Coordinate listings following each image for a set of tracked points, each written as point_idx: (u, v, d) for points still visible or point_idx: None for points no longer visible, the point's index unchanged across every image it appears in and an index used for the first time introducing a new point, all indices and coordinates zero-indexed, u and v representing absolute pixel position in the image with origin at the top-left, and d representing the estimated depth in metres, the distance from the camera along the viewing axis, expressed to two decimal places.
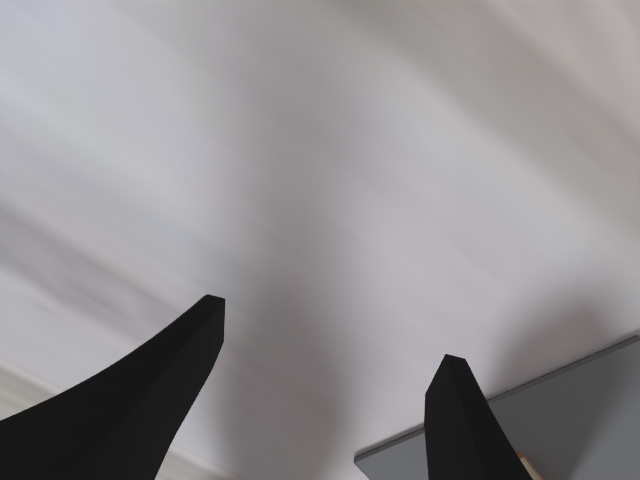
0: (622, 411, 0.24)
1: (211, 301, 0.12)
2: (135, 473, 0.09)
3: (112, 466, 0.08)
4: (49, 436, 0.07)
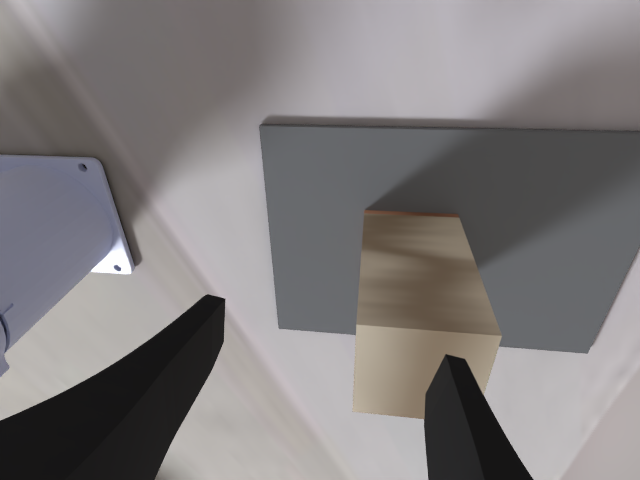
0: (590, 216, 0.20)
1: (211, 301, 0.12)
2: (135, 473, 0.09)
3: (112, 466, 0.08)
4: (49, 436, 0.07)
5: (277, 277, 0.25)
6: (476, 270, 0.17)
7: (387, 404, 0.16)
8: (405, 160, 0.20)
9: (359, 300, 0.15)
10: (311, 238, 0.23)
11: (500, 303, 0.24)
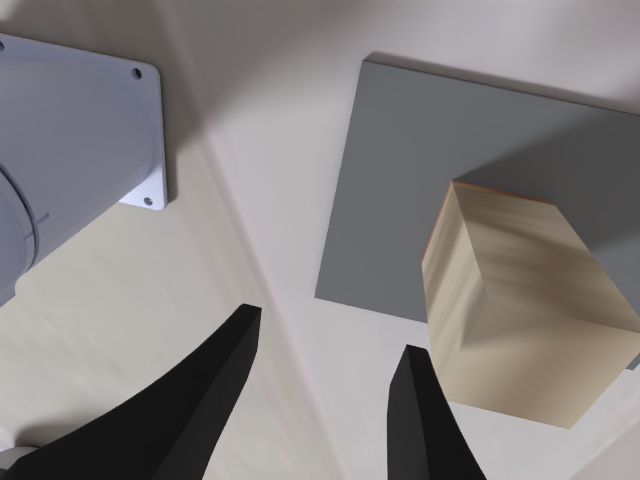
0: None
1: (249, 311, 0.12)
2: None
3: None
4: (111, 454, 0.07)
5: (330, 240, 0.23)
6: (596, 262, 0.15)
7: (480, 395, 0.14)
8: (515, 130, 0.18)
9: (482, 273, 0.13)
10: (381, 203, 0.21)
11: None
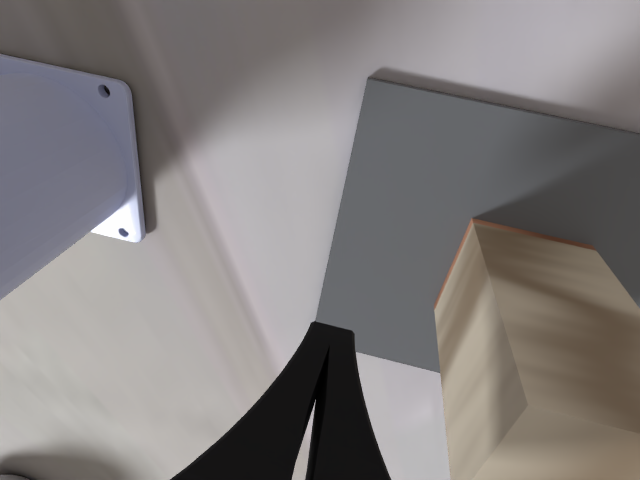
0: None
1: (323, 329, 0.12)
2: None
3: None
4: None
5: (329, 280, 0.20)
6: None
7: None
8: (551, 163, 0.15)
9: (517, 360, 0.10)
10: (389, 241, 0.18)
11: None
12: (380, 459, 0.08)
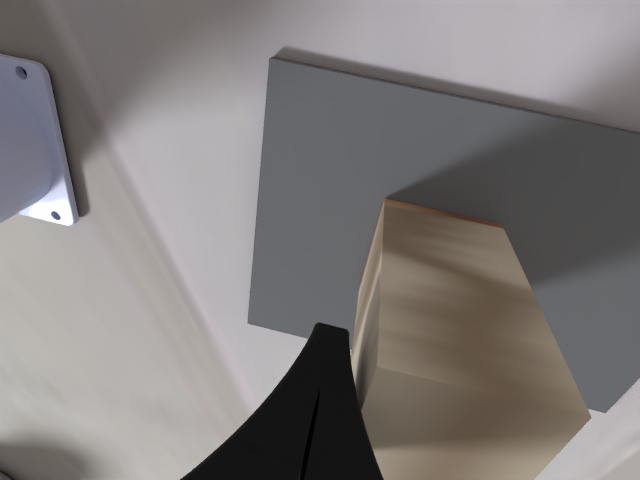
0: None
1: (327, 331, 0.12)
2: None
3: None
4: None
5: (257, 262, 0.20)
6: (537, 305, 0.12)
7: (390, 472, 0.12)
8: (453, 141, 0.15)
9: (381, 326, 0.10)
10: (309, 221, 0.18)
11: None
12: (372, 457, 0.08)
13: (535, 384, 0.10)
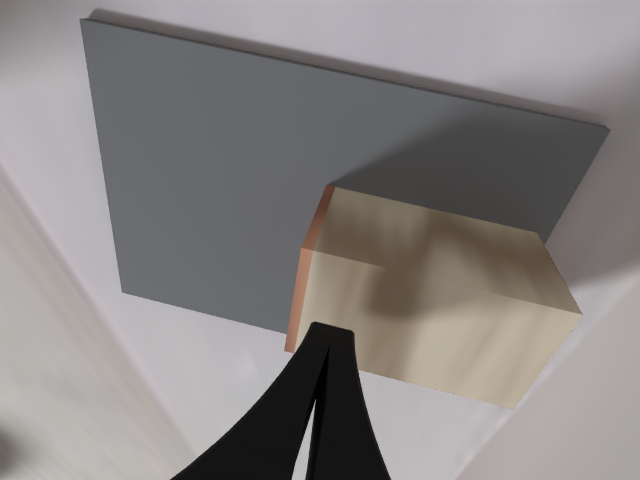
0: (480, 214, 0.16)
1: (323, 329, 0.12)
2: None
3: None
4: None
5: (116, 229, 0.20)
6: (445, 212, 0.17)
7: None
8: (263, 100, 0.16)
9: (539, 303, 0.12)
10: (153, 186, 0.19)
11: None
12: (380, 459, 0.08)
13: (529, 243, 0.15)
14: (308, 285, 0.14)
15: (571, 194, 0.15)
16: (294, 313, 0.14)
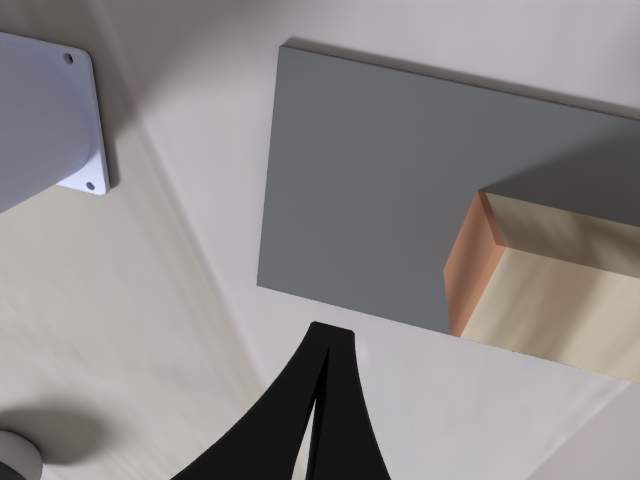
0: (617, 217, 0.19)
1: (323, 329, 0.12)
2: None
3: None
4: None
5: (266, 228, 0.23)
6: (585, 215, 0.19)
7: None
8: (434, 117, 0.18)
9: None
10: (311, 189, 0.21)
11: None
12: (380, 459, 0.08)
13: None
14: (492, 277, 0.16)
15: None
16: (471, 301, 0.17)
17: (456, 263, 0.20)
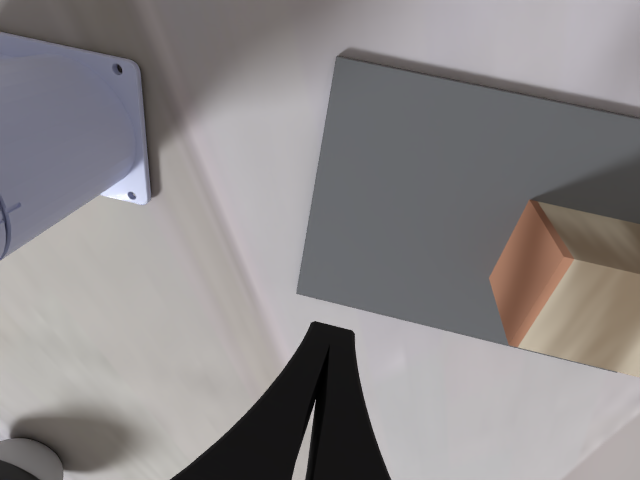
0: None
1: (323, 330, 0.12)
2: None
3: None
4: None
5: (310, 236, 0.23)
6: (638, 224, 0.19)
7: None
8: (490, 127, 0.18)
9: None
10: (359, 199, 0.21)
11: None
12: (380, 459, 0.08)
13: None
14: (557, 288, 0.16)
15: None
16: (533, 312, 0.17)
17: (507, 272, 0.20)
